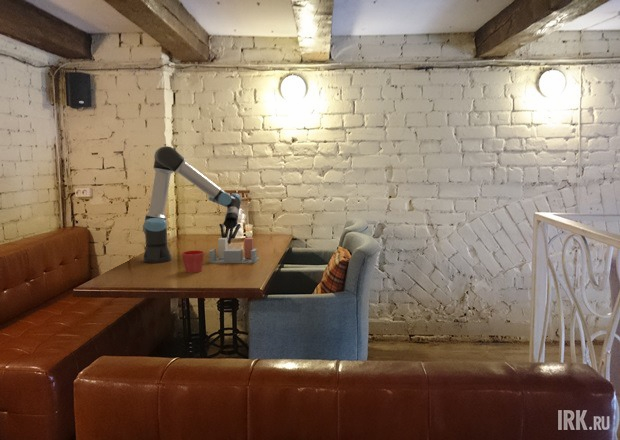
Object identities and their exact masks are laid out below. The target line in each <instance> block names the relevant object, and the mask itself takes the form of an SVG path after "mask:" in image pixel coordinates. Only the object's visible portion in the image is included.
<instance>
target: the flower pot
mask: <svg viewBox="0 0 620 440" xmlns="http://www.w3.org/2000/svg"><path fill="white" fill-rule="evenodd" d="M181 257H182V262H183V266H184V269H185V272H186V273H188V274H190V273H191V274H194V273H195V274H196V273H200V272H202V270H203V266H204V265H203V264H204V257H205V251H203V250H188V251H183V252H181Z"/></svg>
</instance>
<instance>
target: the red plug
mask: <svg viewBox="0 0 620 440" xmlns="http://www.w3.org/2000/svg"><path fill="white" fill-rule="evenodd" d="M243 240H244V258H245V259H251V250H253V249H255V248H254V247H255V246H254V245H255V244H254V243H255V242H254V237H245V238H244V239H243Z"/></svg>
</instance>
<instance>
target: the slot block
mask: <svg viewBox="0 0 620 440" xmlns="http://www.w3.org/2000/svg"><path fill="white" fill-rule="evenodd" d="M243 253H244V251H243V248H228V249H226V250H224V259H219V257H217V248H211V249H210V250H209V251H208V255H209V257H208V259H209V261H208V262H209V264H255V263H257V262H258V261H259V260H260V257H258V249H257V248H254V249H253V250H251V259H245V257H244V255H243Z"/></svg>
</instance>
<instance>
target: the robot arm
mask: <svg viewBox="0 0 620 440" xmlns="http://www.w3.org/2000/svg"><path fill="white" fill-rule="evenodd" d="M153 159H154V163H153V171H155V173H154V178H153V184H152V185H153V186H152V191H151V198H150V204H149V209H148V212H147V213H146V214H145V218H144V223H143V225H142V231H143V234H144V235H145V236H144V237H145V250H144V252H143V257H142V258H143V262H144V263H145V264H146V263H148V264H151V263H153V264H157V263H158V264H159V263H165V262H169V261H171V260H172V254H171V252H170V249H169V246H168V232H167V230H168V228H167V226H168V225H167V217H166V215H165V212H166V211H165V210H166V204H167V200H168V192H169V186H170V181H171V174H173V173H178V174H180V176H182V177H183V178H185V179H186V180H188V182H190V183H192V185H194V186H196V187H197V188H198V189H199V190H200V191H202V192H203V193H205V195H207V196H208V200H209V201H210V202H212V203H215V204H217V205H221V206H223V207H226V213H225V217H224V221H223V223H219V228H220V235H221V238H227V249H229V245H231V242H232V240H235V239H236V236H237V234H238V232H239V230H240V229H241V227H242V226H241V223H238V220H239V214H240V208H241V202H242V197H241V196H240V194H238V193H235V192H233V193H231V194H229V193H228V192H226V191H224V190H223V189H222V188H221V187H219V186H218V185H217V184H216V183H214V182H213V181H212V180H211V179H209V178H208V177H206V176H205V175H204V174H202V172H200V171H199V170H197V169H196V168H195V167H194V166H192V165H191V164H189V163H188V162H187V161H186V158H185V157H183V155H181V154H180V153H179V152H178V151H177V150H176V149H175V148H173V147H172V146H170V145H168V146H166V145H165V146H161V147H159V148H158V149H157V150H156V151H155V152H154V158H153ZM224 227H225V231H224Z"/></svg>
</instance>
